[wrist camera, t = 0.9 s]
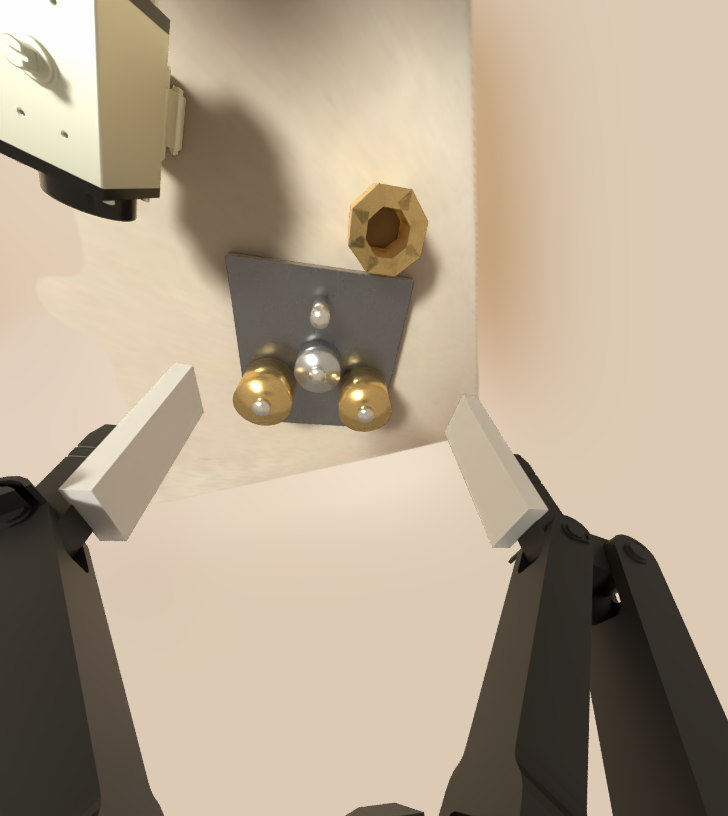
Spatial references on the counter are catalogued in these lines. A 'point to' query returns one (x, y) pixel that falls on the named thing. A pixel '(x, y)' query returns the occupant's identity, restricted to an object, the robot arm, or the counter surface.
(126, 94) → the pneumatic valve
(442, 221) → the counter surface
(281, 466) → the counter surface
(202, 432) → the counter surface
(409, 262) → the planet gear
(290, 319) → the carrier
